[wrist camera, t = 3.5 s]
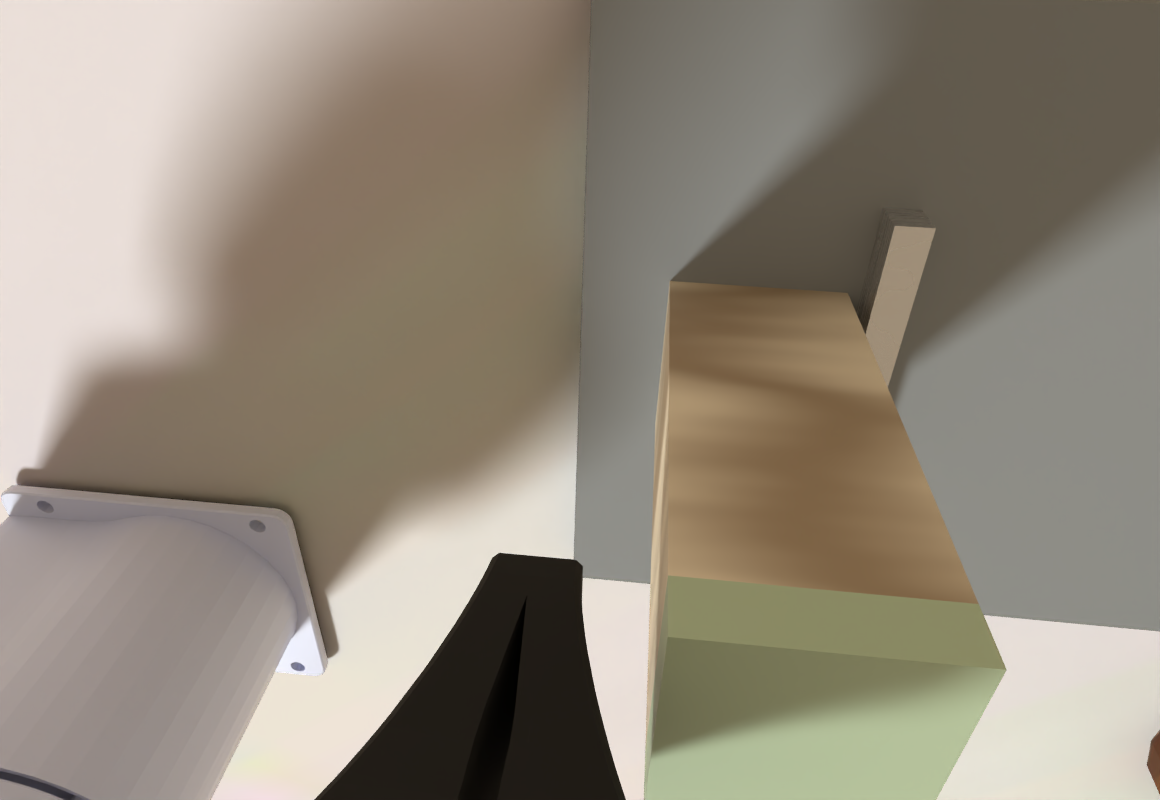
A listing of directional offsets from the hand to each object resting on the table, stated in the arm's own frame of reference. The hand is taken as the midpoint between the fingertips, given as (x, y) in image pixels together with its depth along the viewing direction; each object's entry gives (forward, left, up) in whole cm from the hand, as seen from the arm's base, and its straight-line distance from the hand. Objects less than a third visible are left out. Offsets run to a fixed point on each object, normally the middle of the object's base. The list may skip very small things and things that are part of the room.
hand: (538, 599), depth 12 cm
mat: (+9, 0, -9) cm, 13 cm away
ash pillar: (+4, 0, -8) cm, 9 cm away
